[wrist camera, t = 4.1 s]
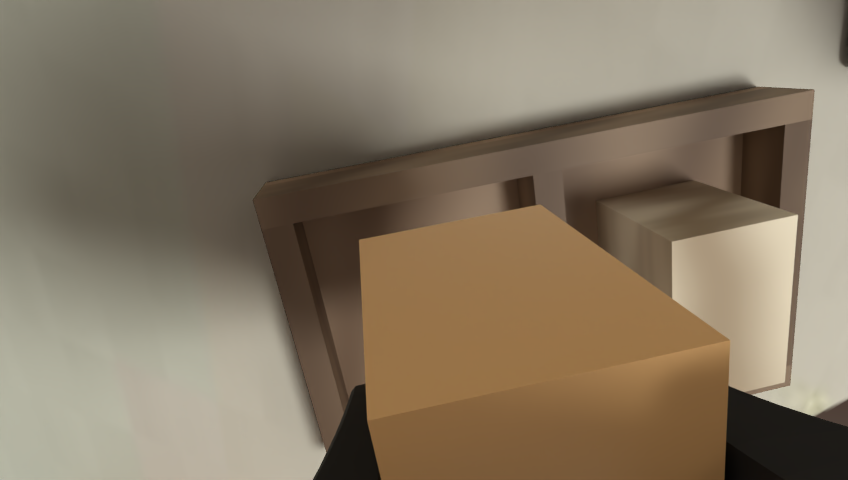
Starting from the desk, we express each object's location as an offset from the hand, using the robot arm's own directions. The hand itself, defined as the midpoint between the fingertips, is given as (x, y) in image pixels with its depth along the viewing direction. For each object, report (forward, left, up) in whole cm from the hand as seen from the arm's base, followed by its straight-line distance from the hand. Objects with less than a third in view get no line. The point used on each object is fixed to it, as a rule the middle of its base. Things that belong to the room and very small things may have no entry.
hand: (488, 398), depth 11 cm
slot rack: (-4, +2, -10) cm, 11 cm away
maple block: (-9, +2, -10) cm, 13 cm away
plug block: (0, 0, -2) cm, 2 cm away
